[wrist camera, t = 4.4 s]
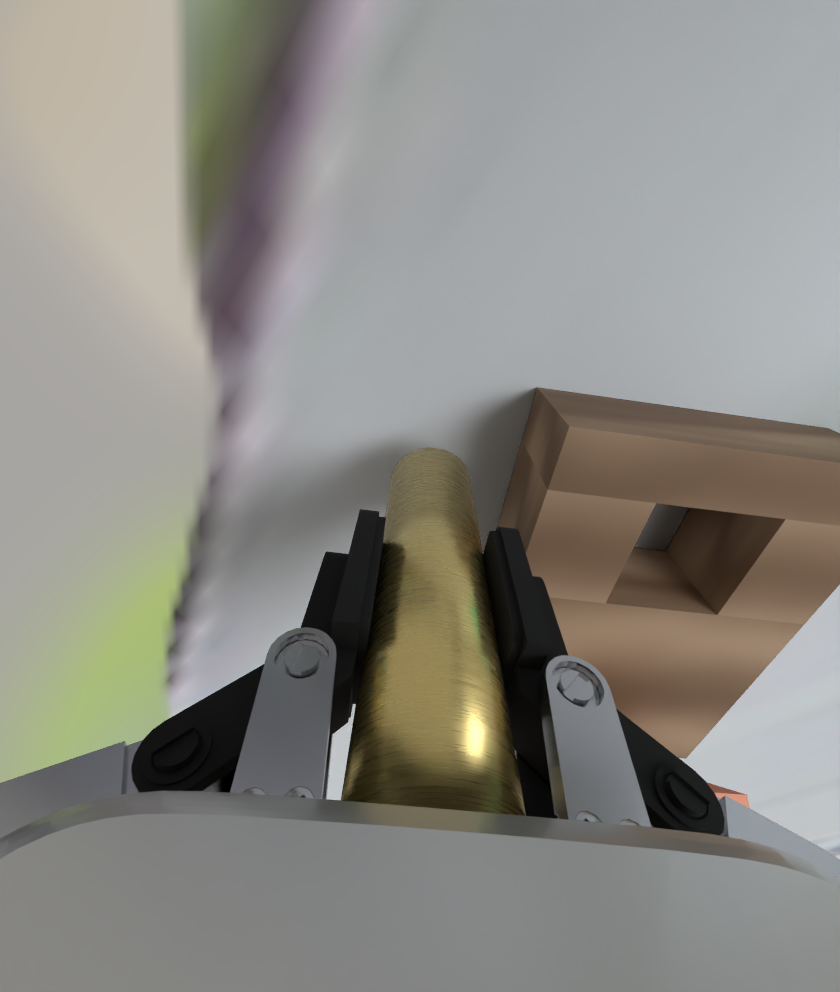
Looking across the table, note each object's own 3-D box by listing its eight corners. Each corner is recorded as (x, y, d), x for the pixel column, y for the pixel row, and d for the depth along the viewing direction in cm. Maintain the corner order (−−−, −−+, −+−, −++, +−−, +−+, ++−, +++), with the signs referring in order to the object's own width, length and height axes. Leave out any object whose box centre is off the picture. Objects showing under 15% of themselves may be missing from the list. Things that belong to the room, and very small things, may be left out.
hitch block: (537, 387, 16) (585, 445, 11) (828, 428, 17) (987, 498, 12) (455, 671, 24) (464, 770, 20) (649, 688, 25) (701, 788, 21)
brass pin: (395, 442, 15) (322, 892, 5) (477, 453, 15) (578, 911, 5) (387, 510, 16) (319, 957, 6) (462, 520, 17) (512, 969, 6)
